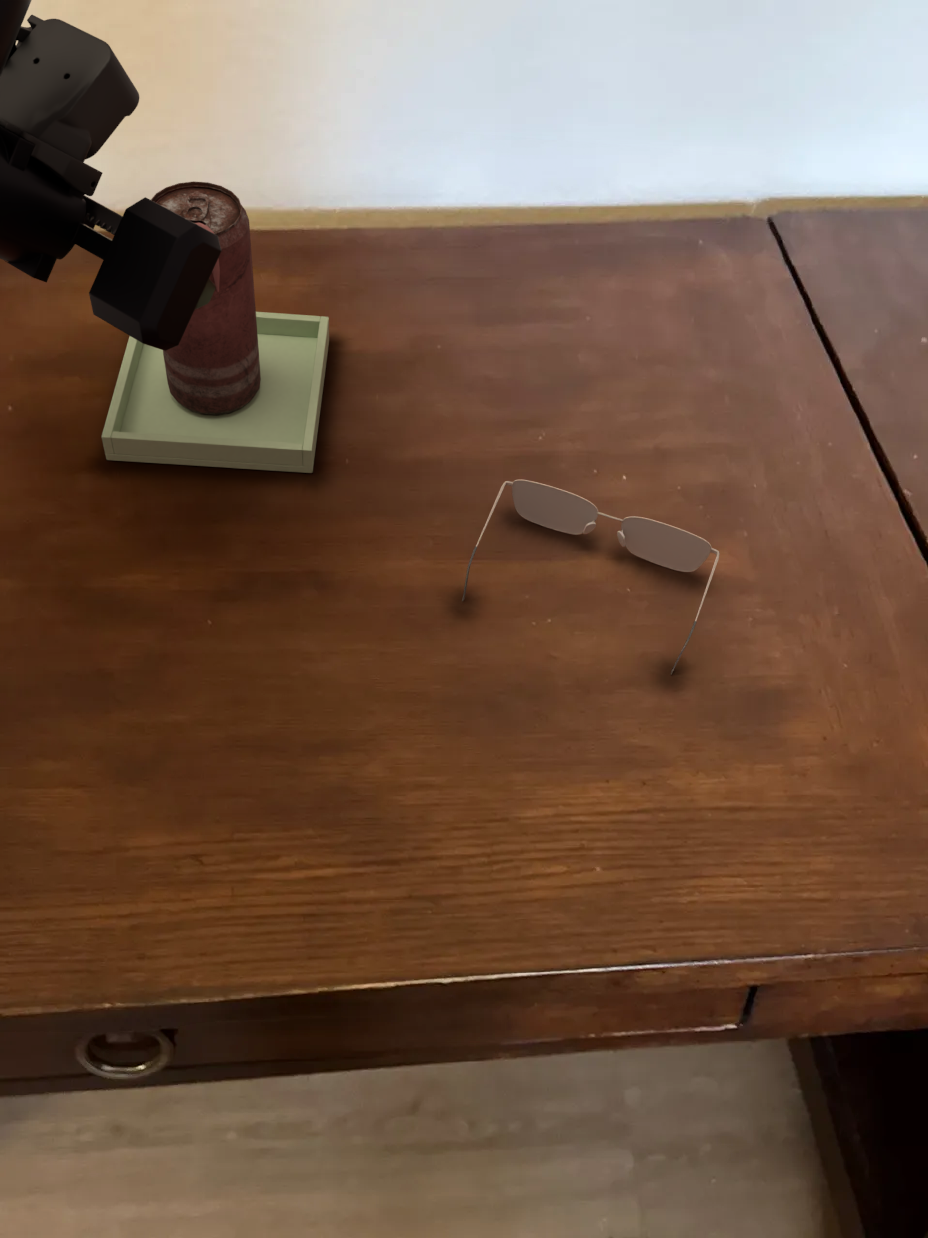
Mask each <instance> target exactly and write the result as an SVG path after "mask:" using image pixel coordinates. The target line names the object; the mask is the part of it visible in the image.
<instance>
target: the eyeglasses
mask: <svg viewBox="0 0 928 1238" xmlns="http://www.w3.org/2000/svg"><path fill="white" fill-rule="evenodd" d="M506 486H508V487H511V497H512V502H513V506H514V508H515V511H516V513H517V514H518V515H519V516H520V517H521V518H523V519H525V520H527V521H529V522H531V523H534V524H536V525H538V526H542V527H543V528H547V529H550V530H553V531H557V532H561V533H565V534H569V535H574V536H575V535H576V536H577V535H578V536H579V535H582V534H583V535H587V534H590V533H592V532H594V530H595V528H596V527H597V523H596V521H597V520H598V517H599V516H602V517H605V518H609V519H611V520H615V521H618V522H621V523H620V530H618V531H616V536H617V537H616V538H617V540H618V543H619V544H620V546H621V547H622V548H624V547H625V548H626V550H627V551H628V552H629V553H631V554H632V555H634V556H636V557H638V558H640V559H643V560H645V561H647V562H650V563H653V564H655V565H658V566H661V567H663V568H667V569H669V570H670V569H671V570H674V571H677V572H682V573H693V572H695V571H697V570H698V569H700V568H701V567H702V565H703V564H704V563H705V562H706V561H707V560H708V558H709V556H710V554H711V553H712V554H714V555H715V559H714V563H713V565H712V569H711V570H710V574H709V577H708V580H707V583H706V587H705V589H704V592H703V596H702V598H701V601H700V605H699V608H698V611H697V614H696V617H695V620H694V621H693V624H692V626H691V629H690V631H689V633H688V636H687V638H686V640H685V643H684V644H683V647H682V648H681V651H680V652H679V654H678V656H677V658H676V660H675V662H674V665H673V666H672V669H671V671H670V675H672V674H673V673H674V671H675V668H676V666H677V664H678V662H679V660H680V658H681V657H682V655H683V653H684V651H685V649H686V646H688V643H689V642H690V639H691V637H692V635H693V633H694V630H695V627H696V625H697V620H698V617H699V615H700V612H701V609H702V607H703V604H704V601H705V599H706V595H707V593H708V590H709V587H710V584H711V581H712V579H713V576H714V573H715V570H716V568H717V564H718V562H719V559H720V551H719V550H718V549H716V548H713V547H712V545H711V543H710V542H709V541H708V540H706V539H705V538H703V537H701V536H699V535H696V534H694V533H692V532H690V531H688V530H685V529H683V528H679V527H677V526H674V525H671V524H668V523H665V522H662V521H660V520H659V521H658V520H655V519H652V518H647V517H642V516H637V515H636V516H635V515H632V516H626V517H624V518H623V519H622V518H619V517H616V516H612V515H610V514H607V513H604V512H599V508H598V507H597V506H596V505H595V504H594V503H593V502H592V501H590V500H588V499H586V498H584V497H582V496H580V495H578V494H576V493H573V492H571V491H567V490H565V489H561V488H558V487H555V486H552V485H549V484H545V483H541V482H537V481H533V480H528V479H521V478H520V479H515V480H513V481H510V480H506V481H504V482H503V484H502V485H501V487H500V488H499V491H498V493H497V496H496V498H495V501H494V503H493V505H492V507H491V510H490V512H489V515H488V517H487V519H486V522H485V524H484V526H483V528H482V530H481V533H480V536H479V538H478V540H477V543H476V545H475V546H474V548H473V550H472V553H471V557H470V558H469V561H468V564H467V568H466V575H465V581H464V587H463V594H462V599H461V602H464V601H465V598H466V595H467V594H466V593H467V588H468V581H469V580H468V579H469V573H470V569H471V565H472V562H473V560H474V557H475V554H476V552H477V550H478V546H479V544H480V542H481V539H482V538H483V535H484V533H485V531H486V528H487V526H488V524H489V522H490V520H491V518H492V515H493V514H494V512H495V509H496V507H497V505H498V502H499V500H500V499H501V496H502V494H503V491H504V489H505V487H506Z"/></svg>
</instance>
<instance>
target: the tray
mask: <svg viewBox="0 0 928 1238" xmlns="http://www.w3.org/2000/svg"><path fill="white" fill-rule="evenodd" d="M256 321H257V335H258V348H259V362H260V375H261V381H260V388H259V390H258V392H257V393H256V395H255V396H254V398H253V399H252V400H251V401H250V403H248V404H247V405H246V406H244V407H243V408H242V409H240V410H238V411H235V412H233V413H230V414H225V415H219V416H210V415H202V414H198V413H195V412H192V411H190V410H188V409H187V408H185V407H183V406H182V405H181V404H180V403H178V402H177V401H176V399H175V398H174V397H173V396H172V395H171V393H170V390H169V386H168V381H167V375H166V368H165V362H164V355H163V350H161V349H158V348H155V347H152V346H149V345H146V344H143V343H141V342H140V341H138V340H136V339H134V338H133V337H131V336H129V335H128V336H129V337H128V340H127V344H126V347H125V351H124V353H123V354H124V355H123V358H122V361H121V365H120V368H119V372H118V375H117V379H116V382H115V386H114V389H113V394H112V398H111V401H110V403H109V408H108V412H107V415H106V418H105V422H104V425H103V429H102V432H101V436H100V437H101V441H102V446H103V450H104V455H105V459H106V461H115V462H116V461H117V462H132V463H147V464H163V465H178V466H179V465H180V466H197V467H207V468H208V467H211V468H225V469H226V468H227V469H241V470H242V469H243V470H257V471H271V472H288V473H304V474H305V473H306V474H312V473H314V465H315V456H316V448H317V441H318V434H319V433H318V432H319V425H320V424H319V423H320V415H321V408H322V401H323V392H324V386H325V385H324V384H325V379H326V378H325V377H326V370H327V369H326V368H327V361H328V352H329V345H330V317H329V316H324V315H321V316H319V315H309V314H307V315H306V314H297V313H296V314H294V313H282V312H281V313H280V312H266V311H256Z"/></svg>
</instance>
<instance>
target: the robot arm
mask: <svg viewBox="0 0 928 1238" xmlns="http://www.w3.org/2000/svg"><path fill="white" fill-rule="evenodd" d="M31 3H32V0H0V260H2V261H4V262H5V263H7V264H8V265H11V266H12V267H14V268H15V269H17V270H19V271H21V272H22V273H24V274H26V275H27V276H29V277H31V278H33V279H35V280H39V281H41V282H43V283H48V280H49V279H50V277H51V274H52V272H53V269H54V267H55V265H56V262H57V260H59V261H60V260H63V259H64V258H65V257H66V256H67V255H68V254H69V253H70V252H71V251H72V249H74V247H75V245H76V246H78V247H79V248H82V249H83V250H85V251H87V252H88V253H90V254H92V255H93V256H95V257H97V258H98V259H101V260H102V262H101V264H100V267H99V269H98V271H97V273H96V275H95V278H94V281H93V283H92V285H91V287H90V289H89V292H88V296H89V300H90V306H91V309H92V314H93V316H95V317H97V318H98V319H100V320H102V321H104V322H106V323H107V324H109V325H111V326H112V327H114V328H116V329H117V330H119V331H121V332H122V333H125V334H126V335H128V336H131V337H133V338H134V339H136V340H138V341H140V342H141V343H143V344H146V345H149V346H152V347H155V348H158V349H161V350H164V351H166V350H169V349H171V348H173V347H176V346H178V345H179V343H180V341H181V338H182V336H183V334H184V332H185V330H186V328H187V325H188V323H189V321H190V319H191V317H192V314H193V312H194V310H196V309H198V308H200V307H202V306H204V305H206V304H208V303H209V301H210V299H211V297H212V295H213V293H214V291H215V287H216V286H215V284H214V283H213V282H212V281H211V280H210V279H209V277H210V275H211V273H212V271H213V269H214V267H215V264H216V262H217V260H218V258H219V256H220V253H221V251H222V250H221V246H220V242H219V238H218V236H217V235H216V234H214V233H212V232H210V231H208V230H206V229H204V228H203V227H201V226H199V225H197V224H195V223H193V222H191V221H189V220H188V219H186V218H184V217H182V216H180V215H178V214H176V213H174V212H173V211H171V210H169V209H167V208H165V207H163V206H161V205H159V204H157V203H156V202H154V201H152V200H151V198H148V197H146V196H145V197H143V198H141V199H140V200H138V201H137V202H135V203H133V204H132V205H130V206H128V207H127V208H125V210H124V212H123V214H122V215H121V214H120V213H118V212H116V211H114V210H112V209H111V208H109V207H107V206H105V205H103V204H101V203H100V202H98V201H96V200H94V199H92V198H91V197H93V196H94V194H95V191H96V189H97V187H98V185H99V183H100V181H101V177H102V176H103V172H102V171H101V170H98V169H96V168H94V167H93V166H91V165H89V164H87V163H86V162H85V161H86V160H88V159H90V158H92V157H94V156H95V155H96V154H97V153H98V152H99V151H100V150H101V148H102V147H103V146H104V145H105V143H106V142H107V141H108V139H109V138H110V137H111V136H112V134H113V133H114V132H115V131H116V130H117V128H118V127H119V126H120V124H121V123H122V122H123V120H125V118H126V117H130V116H131V115H132V114H133V113H134V111H136V109H137V107H138V106H139V102H140V93H139V90H137V88H136V86H135V85H134V83H133V81H132V80H131V78H130V77H129V74H127V72H126V70H125V69H124V67H123V65H122V64H121V62H120V61H119V59H118V57H117V55H116V54H115V53H114V51H113V48H112V47H111V46H110V44H109V43H108V42H106V41H105V40H103V39H101V38H99V37H97V36H95V35H93V34H91V33H89V32H87V31H84V30H83V29H80V28H79V27H77V26H74V25H72V24H70V23H69V22H66V21H64V20H62V19H59V18H48V19H45V20H43V19H42V18H40V17H38V16H36V15H34V14H30V15H29V17H28V18H27V19H26V21H27V23H28V24H29V26H27V27H26V26H22V24H23V23H24V19H25V17H26V15H27V12H28V10H29V7H30V5H31ZM95 227H99V228H100V229H102V230H104V231H106V232H107V233H109V234H111V235H113V237H112V238H111V237H108V236H107V235H105V234H103V233H101V232H100V231H97V230H96V229H95Z"/></svg>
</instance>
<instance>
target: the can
mask: <svg viewBox="0 0 928 1238" xmlns="http://www.w3.org/2000/svg"><path fill="white" fill-rule="evenodd" d="M150 200H152V201H154V202H156V203H157V204H159V205H161V206H163V207H165V208H167V209H169V210H171V211H173V212H174V213H176V214H178V215H180V216H182V217H184V218H186V219H188V220H189V221H191V222H193V223H195V224H197V225H199V226H201V227H203V228H204V229H206V230H208V231H210V232H212V233H214V234H216V235H217V236H218V238H219V242H220V246H221V250H222V251H221V253H220V256H219V258H218V260H217V262H216V264H215V267H214V269H213V271H212V273H211V275H210V277H209V279H210V280H211V281H212V282H213V283H214V284H215V286H216V287H215V291H214V293H213V295H212V297H211V299H210V301H209V303H208V304H206V305H204V306H202V307H200V308H198V309H196V310H194V312H193V314H192V317H191V319H190V321H189V323H188V325H187V328H186V330H185V332H184V334H183V336H182V338H181V341H180V343H179V345H178V346H176V347H173V348H171V349H169V350H166V351H164V350H163V355H164V362H165V368H166V375H167V381H168V386H169V390H170V393H171V395H172V396H173V397H174V398H175V399H176V401H177V402H178V403H180V404H181V405H182V406H183V407H185V408H187V409H188V410H190V411H192V412H195V413H198V414H202V415H210V416H219V415H225V414H230V413H233V412H235V411H238V410H240V409H242V408H243V407H244V406H246V405H247V404H248V403H250V401H251V400H252V399H253V398H254V396H255V395H256V393H257V392H258V390H259V388H260V381H261V375H260V362H259V348H258V335H257V321H256V312H257V310H256V308H257V307H256V296H255V283H254V269H253V267H254V266H253V256H252V255H253V254H252V241H251V227H250V218H249V217H248V213H247V210H246V209H245V208H244V206H243V205H242V202H241V200H240V198H239V197H238V196H237V195H236V194H235V193H234V192H233V191H232V190H231V189H228V188H226V187H224V186H223V185H219V184H216V183H212V182H209V181H185V182H178V183H176V184H175V183H174V184H171V185H170V186H166V187H164V188H163V189H161V190H159V191H157V192H156V193H155V194H154V195H153V196H152V198H150Z"/></svg>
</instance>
